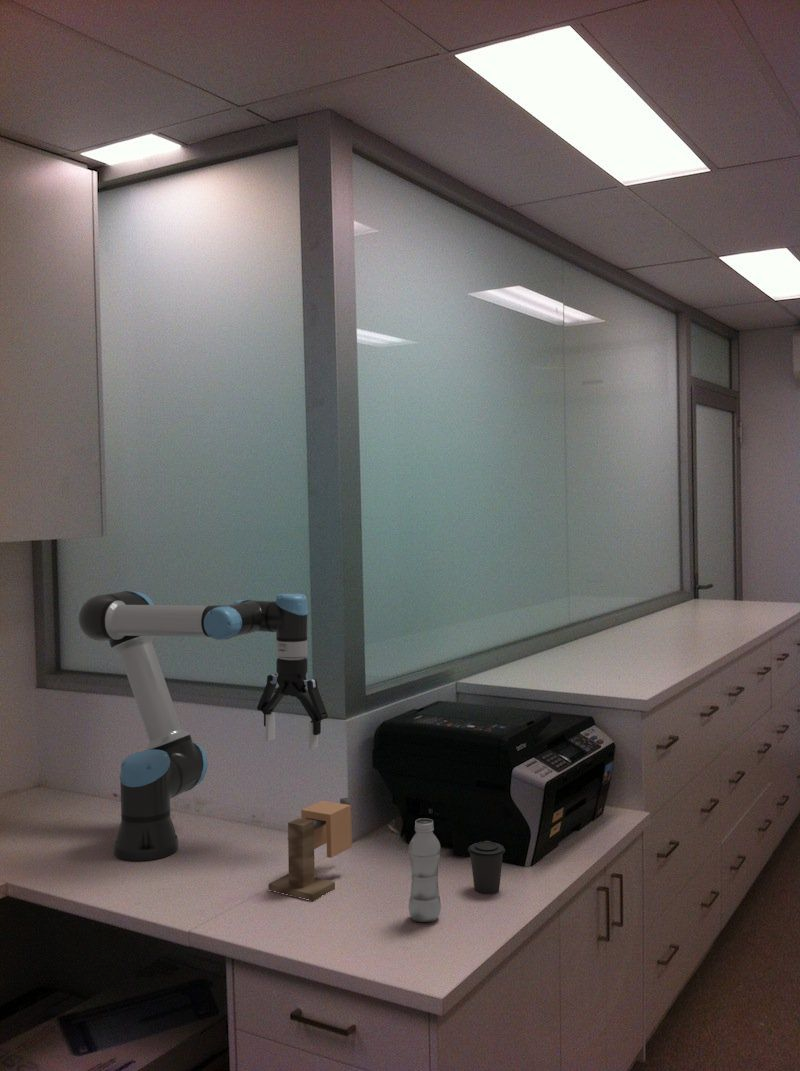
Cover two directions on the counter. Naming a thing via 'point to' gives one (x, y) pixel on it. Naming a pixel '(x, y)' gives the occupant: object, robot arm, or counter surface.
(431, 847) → the plastic bottle
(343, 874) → the counter surface
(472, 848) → the coffee cup
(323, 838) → the tan square cardboard-colored block
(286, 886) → the hook stand
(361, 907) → the counter surface
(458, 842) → the battery
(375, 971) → the counter surface
